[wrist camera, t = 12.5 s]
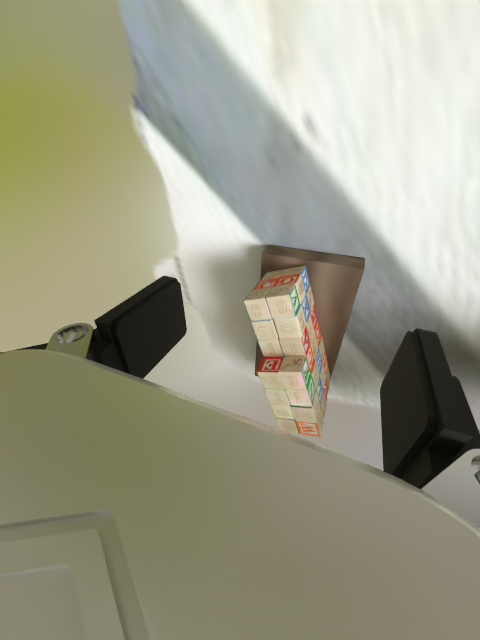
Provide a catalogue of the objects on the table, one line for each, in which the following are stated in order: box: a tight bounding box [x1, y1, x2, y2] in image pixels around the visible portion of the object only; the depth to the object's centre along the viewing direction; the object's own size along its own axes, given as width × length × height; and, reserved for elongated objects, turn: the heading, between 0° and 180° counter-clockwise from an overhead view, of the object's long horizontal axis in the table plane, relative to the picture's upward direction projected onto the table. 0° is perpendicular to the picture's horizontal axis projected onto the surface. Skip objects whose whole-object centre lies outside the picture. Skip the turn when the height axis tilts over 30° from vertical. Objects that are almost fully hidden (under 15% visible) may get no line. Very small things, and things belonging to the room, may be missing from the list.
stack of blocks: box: [244, 266, 330, 437], centre depth 37 cm, size 21×6×12 cm, turn 20°
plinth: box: [255, 245, 365, 378], centre depth 44 cm, size 14×26×4 cm, turn 0°
